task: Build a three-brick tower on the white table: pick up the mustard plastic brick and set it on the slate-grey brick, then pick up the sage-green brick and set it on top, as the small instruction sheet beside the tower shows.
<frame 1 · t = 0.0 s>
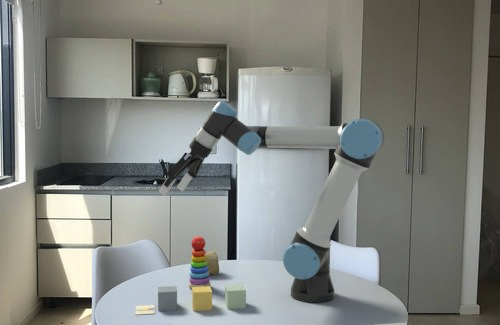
hand: (171, 191, 184), 36 cm above the table, tool tilted 35°, fingers open, 13 cm apart
mustard brick: (201, 307, 171), on the table
slate brick: (167, 307, 171), on the table
sage brick: (235, 305, 173), on the table
stacking toy: (199, 287, 193), on the table
coral: (208, 274, 210), on the table
instruction sheet: (145, 310, 168), on the table
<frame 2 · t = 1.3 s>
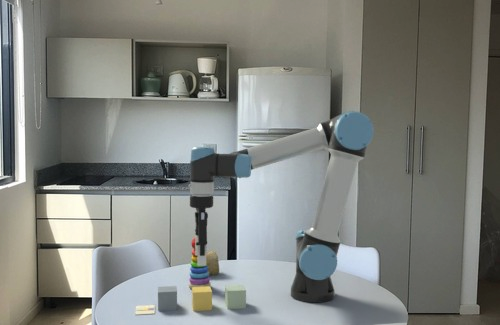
hand: (200, 260, 170), 15 cm above the table, tool pointing down, fingers open, 13 cm apart
nothing on the table moved.
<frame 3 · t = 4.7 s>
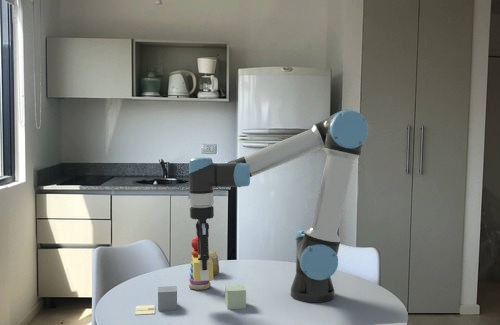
hand: (203, 276, 170), 10 cm above the table, tool pointing down, fingers closed on mustard brick, 6 cm apart
mustard brick: (202, 278, 170), point 10 cm above the table, touching gripper
everything else where it was.
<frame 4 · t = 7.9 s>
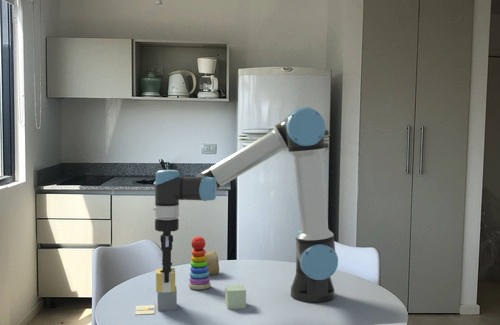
hand: (166, 288, 170), 6 cm above the table, tool pointing down, fingers closed on mustard brick, slate brick, 6 cm apart
mustard brick: (165, 289, 170), point 6 cm above the table, touching gripper, slate brick
slate brick: (167, 307, 171), on the table, touching gripper, mustard brick
everything else where it was.
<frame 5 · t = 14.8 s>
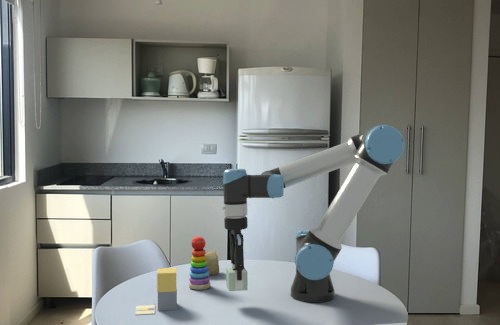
hand: (237, 286, 172), 6 cm above the table, tool pointing down, fingers closed on sage brick, 6 cm apart
mustard brick: (166, 288, 171), point 6 cm above the table, touching slate brick
slate brick: (167, 307, 171), on the table, touching mustard brick
sage brick: (236, 288, 172), point 6 cm above the table, touching gripper
everything else where it was.
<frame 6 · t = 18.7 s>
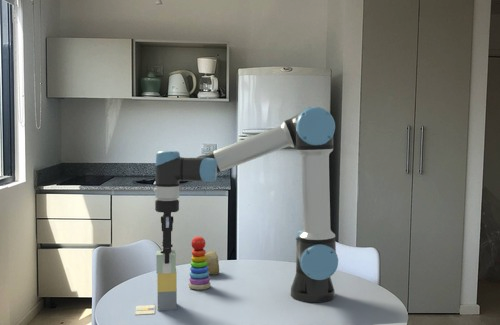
hand: (166, 270, 170), 12 cm above the table, tool pointing down, fingers closed on sage brick, 6 cm apart
mustard brick: (167, 288, 171), point 6 cm above the table, touching gripper, sage brick, slate brick
sage brick: (165, 270, 170), point 12 cm above the table, touching gripper, mustard brick
everything else where it was.
when the fingers open (12 cm above the table, at t = 18.9 s): sage brick stays where it is, resting on mustard brick.
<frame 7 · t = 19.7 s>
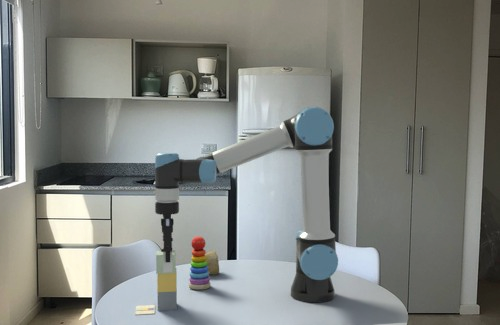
hand: (167, 266, 170), 13 cm above the table, tool pointing down, fingers open, 13 cm apart
mustard brick: (167, 288, 171), point 6 cm above the table, touching sage brick, slate brick
sage brick: (166, 271, 170), point 12 cm above the table, touching mustard brick
everything else where it was.
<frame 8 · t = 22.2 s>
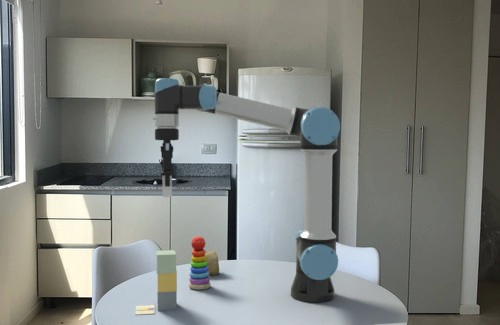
hand: (167, 194, 169), 37 cm above the table, tool pointing down, fingers open, 13 cm apart
nothing on the table moved.
at the end: mustard brick 0.1 cm off-centre on the slate brick, point 6.0 cm above the slate brick's base; sage brick 0.4 cm off-centre on the slate brick, point 12.0 cm above the slate brick's base; sage brick tilted 0° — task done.
